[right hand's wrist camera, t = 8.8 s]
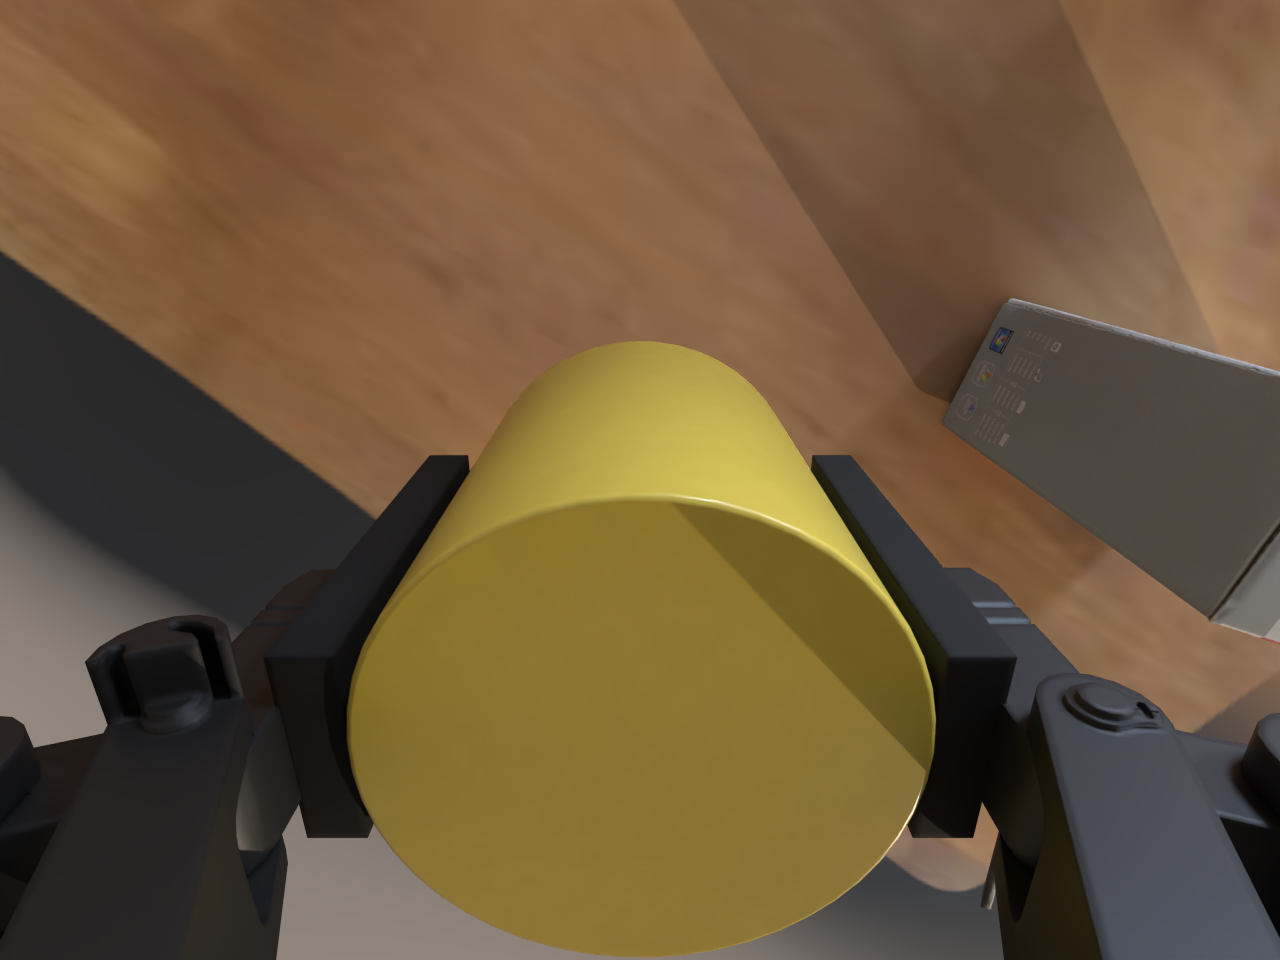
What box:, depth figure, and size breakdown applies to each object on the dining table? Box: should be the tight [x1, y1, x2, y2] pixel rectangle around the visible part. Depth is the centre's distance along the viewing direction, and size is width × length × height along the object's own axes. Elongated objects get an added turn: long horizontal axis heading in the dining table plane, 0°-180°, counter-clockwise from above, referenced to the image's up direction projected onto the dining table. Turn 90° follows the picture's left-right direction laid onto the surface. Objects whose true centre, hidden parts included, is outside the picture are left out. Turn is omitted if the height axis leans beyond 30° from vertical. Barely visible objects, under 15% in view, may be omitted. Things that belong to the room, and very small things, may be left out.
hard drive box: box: [942, 299, 1280, 644], centre depth 30 cm, size 16×8×20 cm, turn 71°
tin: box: [347, 341, 936, 957], centre depth 12 cm, size 7×7×8 cm
